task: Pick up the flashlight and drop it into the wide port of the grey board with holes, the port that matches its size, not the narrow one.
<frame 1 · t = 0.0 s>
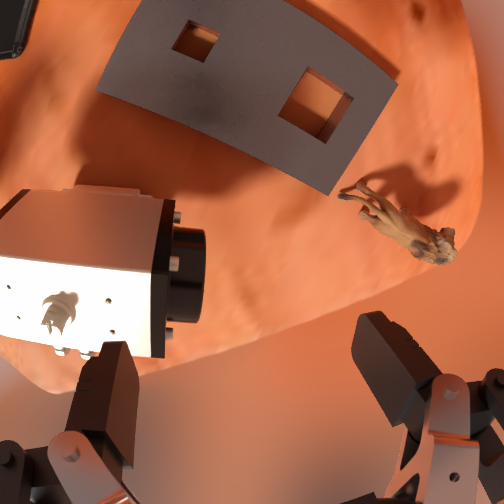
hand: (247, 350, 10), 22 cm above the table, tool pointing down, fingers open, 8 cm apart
lion figurine: (386, 208, 35), on the table
security camera: (111, 206, 29), on the table
grey board with holes: (254, 71, 24), on the table
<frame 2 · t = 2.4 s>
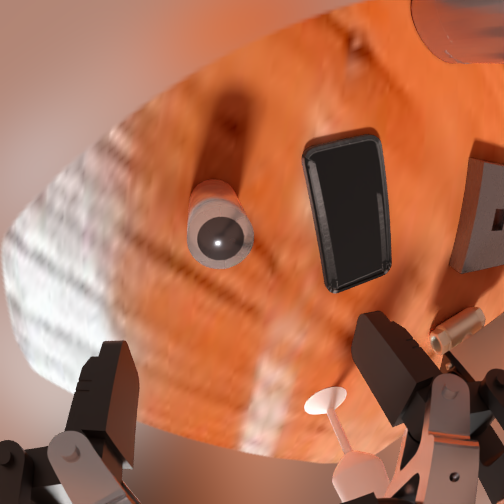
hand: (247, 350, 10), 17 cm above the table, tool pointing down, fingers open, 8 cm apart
flashlight: (213, 202, 25), on the table
security camera: (448, 323, 39), on the table
champagne flute: (325, 400, 40), on the table
phone: (349, 214, 29), on the table
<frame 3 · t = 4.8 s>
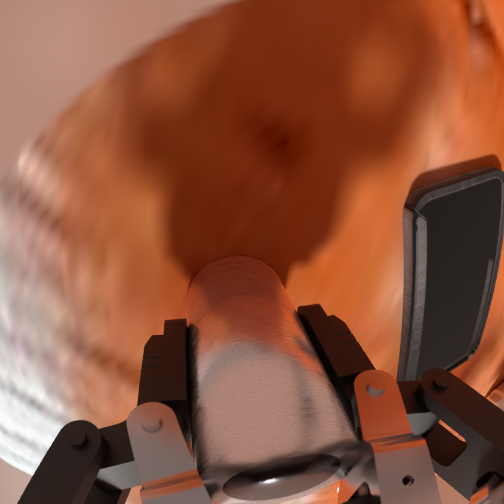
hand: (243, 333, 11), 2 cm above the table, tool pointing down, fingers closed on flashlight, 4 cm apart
flashlight: (235, 299, 13), on the table, touching gripper
security camera: (503, 382, 27), on the table
phone: (446, 290, 16), on the table
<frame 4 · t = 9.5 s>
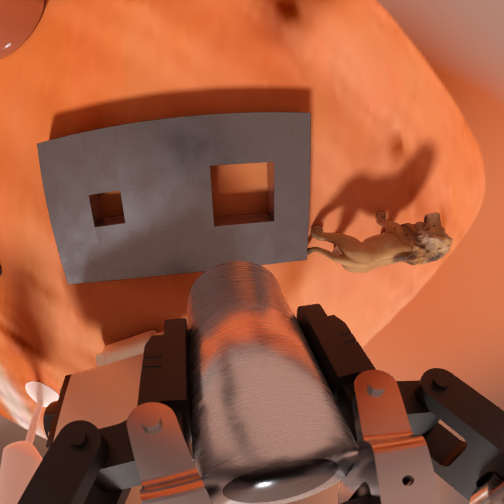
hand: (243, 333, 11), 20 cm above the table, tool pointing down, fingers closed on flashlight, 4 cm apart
flashlight: (235, 303, 13), point 17 cm above the table, touching gripper
lion figurine: (360, 226, 33), on the table, touching grey board with holes
security camera: (140, 346, 34), on the table
champagne flute: (43, 394, 36), on the table
grey board with holes: (174, 193, 27), on the table
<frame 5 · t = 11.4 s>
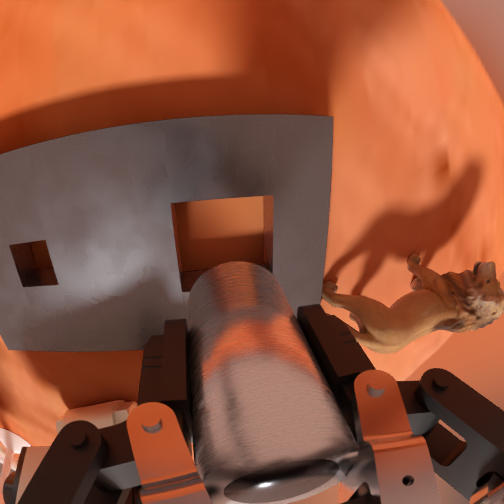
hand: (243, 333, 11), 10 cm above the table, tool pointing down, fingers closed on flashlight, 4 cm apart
flashlight: (235, 304, 13), point 7 cm above the table, touching gripper
lion figurine: (387, 274, 24), on the table
security camera: (107, 411, 25), on the table
champagne flute: (13, 440, 26), on the table
grey board with holes: (127, 238, 18), on the table
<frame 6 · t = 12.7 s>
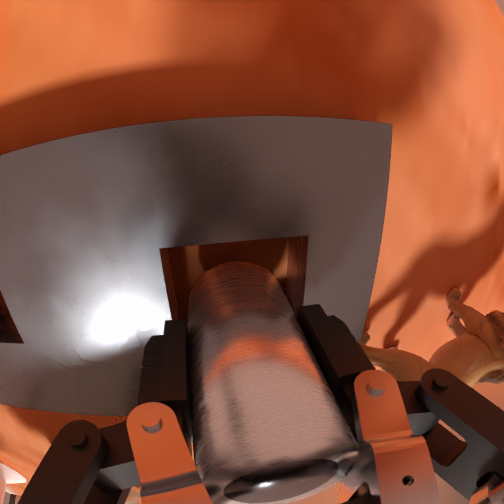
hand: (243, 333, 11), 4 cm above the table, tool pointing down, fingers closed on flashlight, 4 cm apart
flashlight: (235, 304, 13), point 2 cm above the table, touching gripper
lion figurine: (423, 314, 19), on the table
champagne flute: (5, 469, 21), on the table
grey board with holes: (106, 285, 13), on the table
when the fingers open (4 cm above the table, at t = 13.1 s): flashlight drops 1 cm, resting in grey board with holes.
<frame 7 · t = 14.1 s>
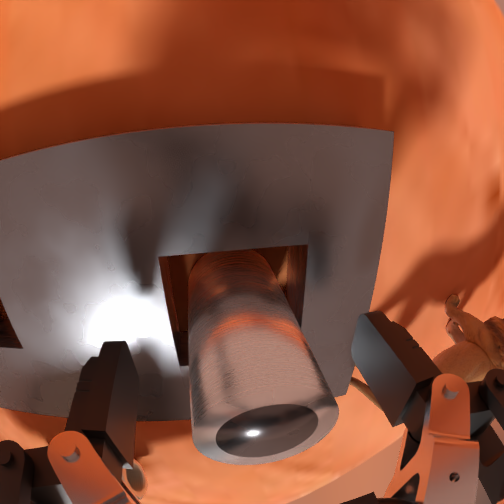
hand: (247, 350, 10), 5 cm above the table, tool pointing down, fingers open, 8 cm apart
flashlight: (231, 285, 14), resting in grey board with holes
lion figurine: (422, 320, 19), on the table
security camera: (99, 459, 20), on the table
grey board with holes: (105, 291, 13), on the table
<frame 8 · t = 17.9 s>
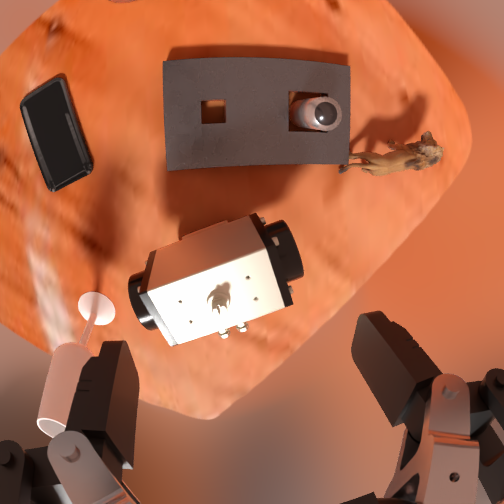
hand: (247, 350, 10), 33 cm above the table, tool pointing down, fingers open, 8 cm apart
flashlight: (302, 113, 38), resting in grey board with holes
lion figurine: (378, 151, 42), on the table, touching grey board with holes
security camera: (211, 241, 44), on the table
champagne flute: (96, 308, 45), on the table
grey board with holes: (258, 110, 37), on the table
phone: (56, 133, 33), on the table
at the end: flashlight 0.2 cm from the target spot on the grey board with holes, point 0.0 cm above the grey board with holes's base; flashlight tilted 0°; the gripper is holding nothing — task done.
